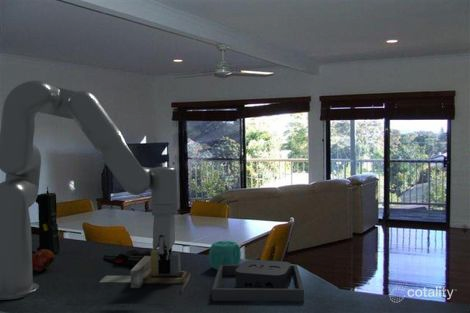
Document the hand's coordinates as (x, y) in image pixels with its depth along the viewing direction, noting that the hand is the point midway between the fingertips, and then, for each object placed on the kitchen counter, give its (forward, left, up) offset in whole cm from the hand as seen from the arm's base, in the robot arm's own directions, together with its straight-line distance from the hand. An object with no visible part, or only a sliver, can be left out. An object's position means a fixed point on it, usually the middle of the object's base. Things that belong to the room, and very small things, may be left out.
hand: (165, 270), depth 139 cm
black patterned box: (-15, +21, -4) cm, 26 cm away
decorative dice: (+16, +18, -4) cm, 24 cm away
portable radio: (-51, +34, -4) cm, 61 cm away
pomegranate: (-43, +13, -4) cm, 45 cm away
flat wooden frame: (-7, 0, -4) cm, 8 cm away
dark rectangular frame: (+27, -2, -4) cm, 27 cm away
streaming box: (+29, +1, -4) cm, 29 cm away
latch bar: (+1, 0, -1) cm, 1 cm away
